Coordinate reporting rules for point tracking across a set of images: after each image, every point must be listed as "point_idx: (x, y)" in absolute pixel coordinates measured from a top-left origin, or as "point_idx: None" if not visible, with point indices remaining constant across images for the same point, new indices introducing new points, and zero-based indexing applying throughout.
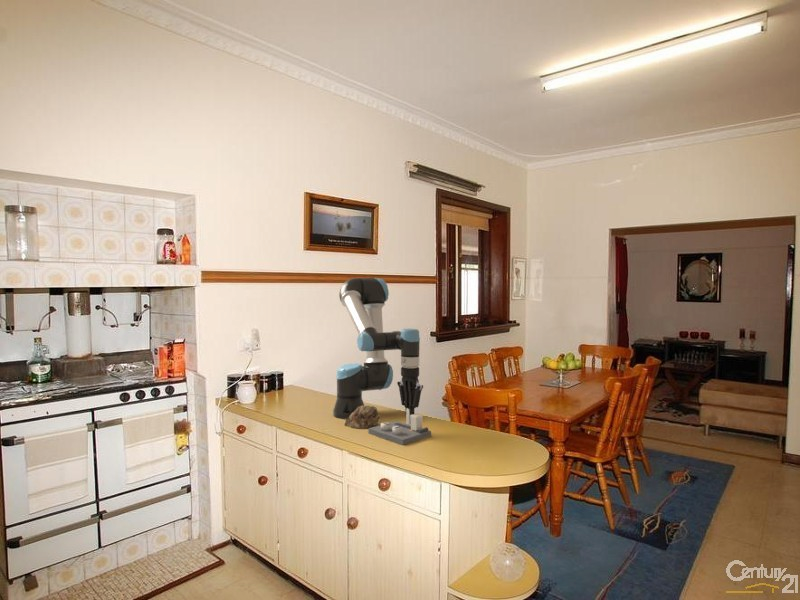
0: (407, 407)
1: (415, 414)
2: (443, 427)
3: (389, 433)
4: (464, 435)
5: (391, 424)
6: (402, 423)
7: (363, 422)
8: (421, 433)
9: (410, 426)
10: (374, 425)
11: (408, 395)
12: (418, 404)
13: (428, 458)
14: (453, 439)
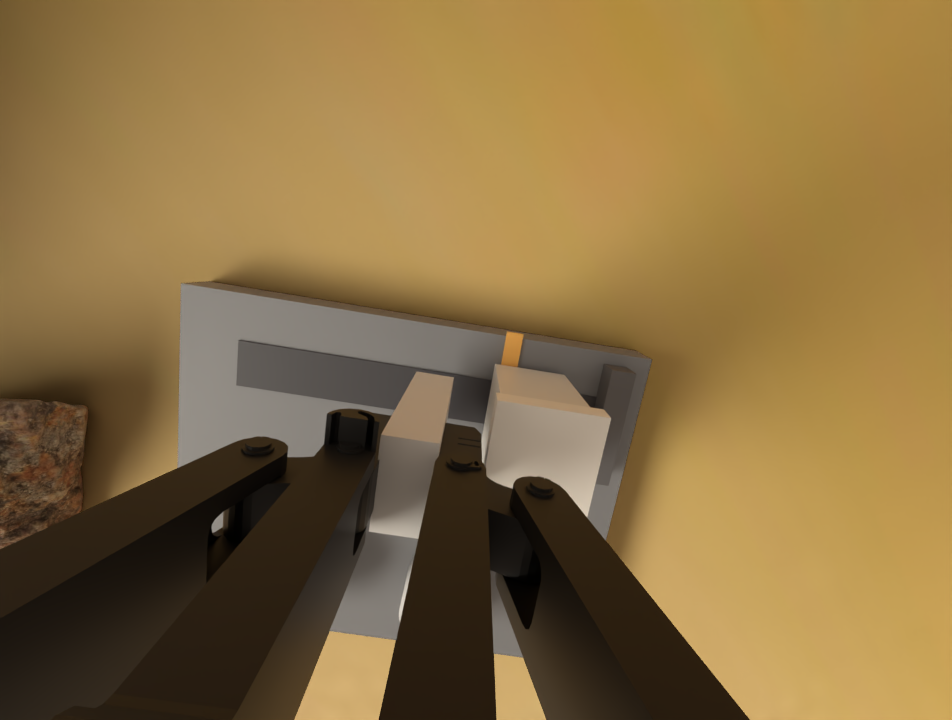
0: (370, 514)
1: (515, 463)
2: (606, 32)
3: (397, 609)
4: (891, 144)
5: (232, 411)
6: (288, 321)
7: (19, 539)
8: (614, 465)
9: (413, 356)
10: (85, 430)
11: (294, 679)
12: (580, 518)
13: (829, 714)
14: (839, 310)
